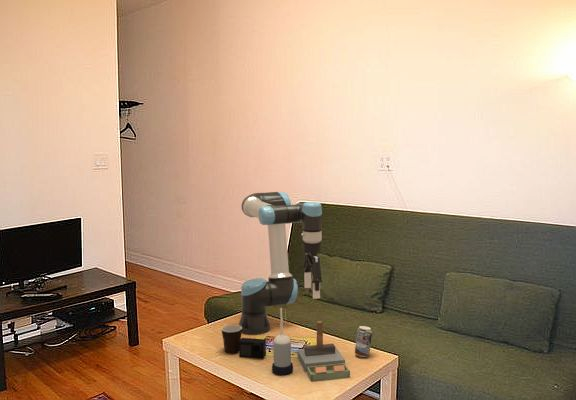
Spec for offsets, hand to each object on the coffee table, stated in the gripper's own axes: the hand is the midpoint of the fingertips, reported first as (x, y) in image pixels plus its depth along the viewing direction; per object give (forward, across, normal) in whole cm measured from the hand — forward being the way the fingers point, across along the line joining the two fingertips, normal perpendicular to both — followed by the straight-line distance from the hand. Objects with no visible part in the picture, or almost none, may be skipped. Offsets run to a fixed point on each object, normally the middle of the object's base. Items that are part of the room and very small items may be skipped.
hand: (311, 292), depth 205 cm
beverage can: (+28, +3, +21) cm, 35 cm away
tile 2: (+24, +17, +6) cm, 30 cm away
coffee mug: (+28, -16, -30) cm, 45 cm away
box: (+27, +17, +2) cm, 32 cm away
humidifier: (+28, +9, -14) cm, 32 cm away
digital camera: (+28, -7, -24) cm, 37 cm away
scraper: (+24, +4, +2) cm, 24 cm away
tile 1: (+24, +17, -2) cm, 29 cm away
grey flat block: (+27, +6, +2) cm, 28 cm away
